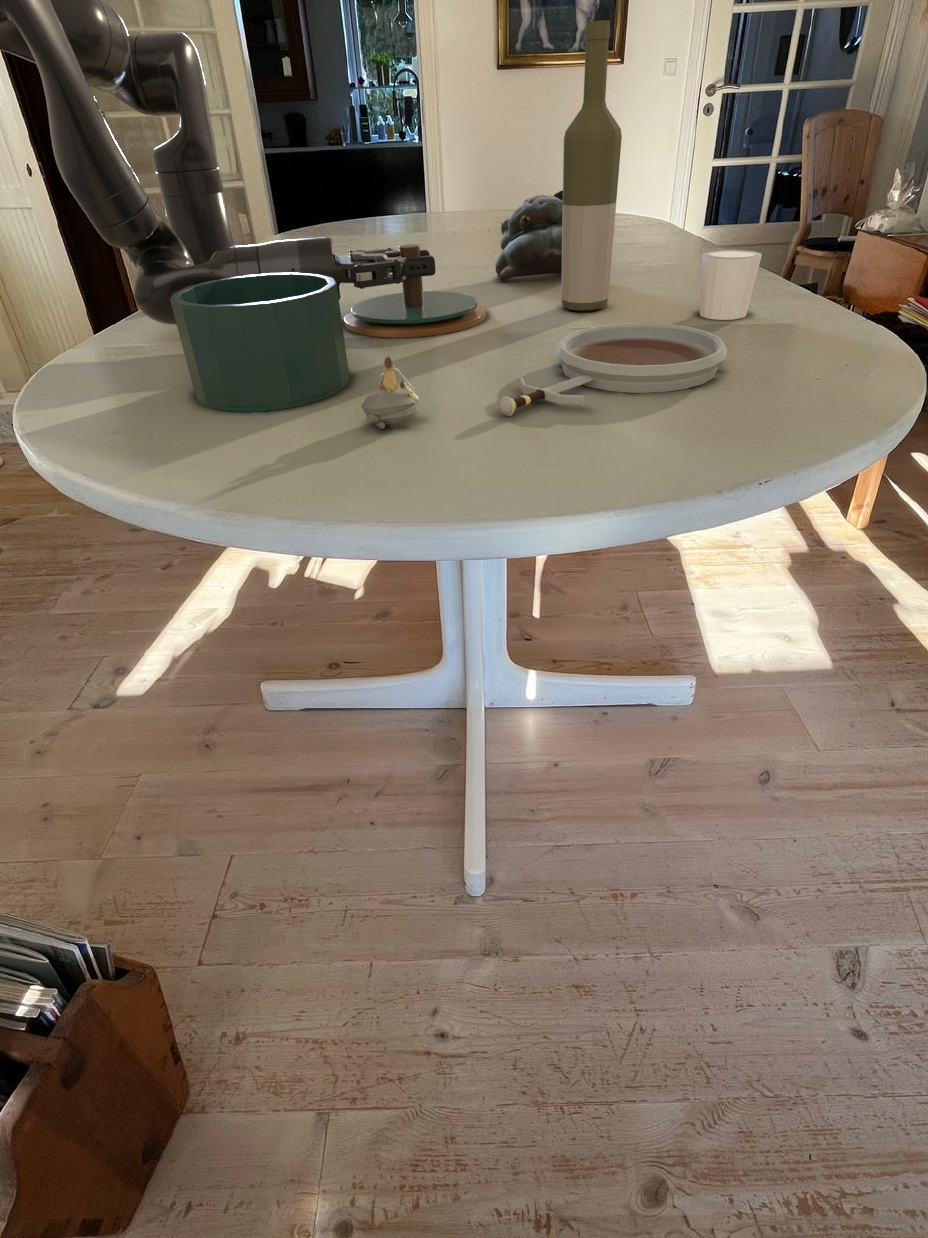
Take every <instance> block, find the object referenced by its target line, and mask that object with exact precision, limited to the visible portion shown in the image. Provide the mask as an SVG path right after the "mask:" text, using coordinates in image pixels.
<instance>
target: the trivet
mask: <svg viewBox="0 0 928 1238" xmlns="http://www.w3.org/2000/svg"><path fill="white" fill-rule="evenodd" d="M486 313H487V312H486V308H485V306H483V305H482V304H481V303H478V302H477V307H476V308H475V309H474V310H473V311H471V312H469V313H467V314H464V315H461V316H458V317H454V318H450V319H447V320H443V321H439V322H433V323H426V324H414V325H391V324H382V323H374V322H368V321H363V320H360V319H357V318H355V317H354V316H353V315H352V313H351V311H350V312H348V313H347V314H346V315H345V316H344V318H343V321H344V327H345V328H346V329H347V330H348V331H350V332H352V333H354V334H357V335H358V334H359V335H361V336H362V335H363V336H369V337H376V338H391V339H392V338H395V339H396V338H400V339H401V338H421V337H431V336H438V335H439V336H440V335H445V334H451V333H455V332H459V331H460V332H461V331H463V330H466V329H470V328H473V327H474V326H477V325H479V324H481V323H483V321H484V320H485V319H486V316H487V314H486Z"/></svg>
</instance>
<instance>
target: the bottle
mask: <svg viewBox="0 0 928 1238" xmlns="http://www.w3.org/2000/svg"><path fill="white" fill-rule="evenodd" d="M584 30H585V33H584V42H585V51H584V52H585V53H584V77H583V99H582V100H583V101H582V105H581V108H580V110H579V111H578V113H577V114H576V115H575V117H574V119H573V120H572V121H571V122H570V124H569V126H568V127H567V129H566V130H565V131H564V136H563V156H562V157H563V158H562V159H563V160H562V161H563V165H562V190H563V219H562V274H561V303H562V307H563V308H565V309H568V310H570V311H572V312H593V311H597V310H599V309H602V308H604V307H606V306H607V305H608V301H609V295H610V294H609V292H610V283H611V282H610V281H611V270H612V259H613V246H614V234H615V223H616V212H617V211H616V210H617V201H618V200H617V199H618V188H619V174H620V164H621V163H620V162H621V152H622V151H621V150H622V138H623V137H622V136H623V135H622V128H621V127H620V125H619V123H618V122H617V121H616V119H615V117H614V116H613V115H612V113H611V112H610V110H609V109H608V107H607V103H606V94H607V93H606V92H607V77H608V75H607V74H608V57H609V42H610V41H609V40H610V37H611V20H591V21H587V22H585V29H584Z"/></svg>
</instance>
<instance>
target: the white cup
mask: <svg viewBox="0 0 928 1238" xmlns="http://www.w3.org/2000/svg"><path fill="white" fill-rule="evenodd" d="M762 256H763V254H762V253H761V252H759V251H754V250H748V249H747V250H746V249H718V250H711V251H706V252H704V253H702V257H701V259H702V260H701V276H700V277H701V279H700V297H699V299H700V300H699V317H702V318H705V319H710V320H716V321H717V320H719V321H720V320H721V321H731V320H739V319H743V318H745V317H747V313H748V309H749V305H750V302H751V298H752V294H753V291H754V286H755V283H756V279H757V275H758V271H759V268H760V263H761V260H762Z"/></svg>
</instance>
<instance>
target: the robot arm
mask: <svg viewBox="0 0 928 1238" xmlns="http://www.w3.org/2000/svg"><path fill="white" fill-rule="evenodd" d="M0 51H2V52H5V53H8V54H11V55H14V56H16V57H19V58H21V59H24V60H26V61H28V62H31V63H34V64H35V65H36V67H37V70H38V72H39V74H40V78H41V82H42V87H43V91H44V96H45V101H46V109H47V116H48V125H49V132H50V139H51V147H52V151H53V155H54V159H55V163H56V166H57V169H58V171H59V173H60V175H61V178H62V180H63V182H64V183H65V185H66V187H67V188H68V190H69V192H70V193H71V195H72V196H73V198H74V199H75V201H76V202H77V203H78V205H79V207H80V208H81V209H82V211H83V212H84V214H85V215H86V217H87V218H88V220H89V221H90V223H91V224H92V226H93V227H94V229H95V230H96V231H97V233H98V234H99V236H100V237H101V238H102V239H103V240H104V241H105V242H106V243H107V244H108V245H109V246H111V247H112V248H115V249H118V250H119V249H120V250H123V251H124V253H126V254H127V256H128V257H129V259H130V260H131V262H132V263H133V265H134V267H135V269H136V270H135V276H134V283H133V297H134V300H135V304H136V305H137V307H138V309H139V310H140V311H141V313H143V314H144V315H145V316H146V317H147V318H148V319H151V320H152V321H154V322H158V323H160V324H165V325H171V326H172V325H173V326H177V324H176V320H175V317H174V313H173V309H172V305H171V302H170V299H171V296H172V294H173V293H175V292H177V291H179V290H181V289H184V288H186V287H188V286H192V285H196V284H200V283H204V282H208V281H213V280H219V279H225V278H231V277H237V276H247V275H258V274H271V273H306V274H319V275H323V276H327V277H331V278H333V279H334V280H335V282H336V284H337V290H338V297H339V301H340V300H341V291H340V290H341V289H340V285H341V284H353V287H354V288H357V289H360V290H361V289H362V290H363V289H366V288H372V287H379V286H387V285H393V284H396V285H398V284H399V285H400V284H401V283H402V282H403V280H405V279H406V277H407V278H408V277H420V276H422V277H431V276H434V275H435V274H436V261H435V257H434V256H433V255H431V254H430V251H429V250H427V249H420V256H419V257H406V258H404V257H401V256H400V251H399V249H395V248H392V247H387V248H379V247H377V248H368V249H361V248H352V249H349V250H348V251H349V254H345V255H336V253H335V247H334V241H333V238H331V237H329V236H322V237H321V236H320V237H306V238H293V239H283V240H281V239H280V240H274V241H269V242H264V243H258V244H247V245H245V244H244V245H236V243H235V242H236V241H235V237H234V234H233V228H232V224H231V219H230V214H229V209H228V205H227V200H226V195H225V191H224V190H225V189H224V185H223V181H222V175H221V171H220V166H219V162H218V155H217V148H216V147H217V146H216V139H215V133H214V128H213V124H212V119H211V118H212V117H211V112H210V111H211V110H210V106H209V99H208V93H207V86H206V80H205V74H204V70H203V66H202V63H201V59H200V56H199V53H198V50H197V48H196V46H195V44H194V42H193V41H192V39H191V38H190V37H189V36H188V35H186V34H185V33H183V32H181V31H180V32H179V31H167V32H155V33H153V32H152V33H139V34H138V33H137V34H129V33H128V30H127V27H126V25H125V22H124V20H123V19H122V18H121V16H120V14H119V12H118V11H117V10H116V9H115V8H114V7H113V5H111V3H110V2H108V1H107V0H0ZM91 87H92V88H94V89H97V90H99V91H102V92H104V93H108V94H110V95H112V96H113V97H115V98H117V99H118V100H120V102H123V103H124V104H126V105H127V106H128V107H130V108H131V109H133V110H135V111H136V112H138V113H140V114H141V115H145V116H150V117H168V116H179V128H178V130H177V132H176V133H175V134H174V135H173V137H172V138H170V139H169V140H168V141H166V142H164V143H162V144H160V145H159V146H156V147H155V148H153V150H152V152H151V159H152V164H153V168H154V172H155V175H156V180H157V183H158V188H159V191H160V195H161V198H162V203H163V206H164V211H165V215H166V217H167V221H166V220H165V219H164V218H163V217H162V216H161V214H159V212H158V211H156V209H155V207H154V205H153V203H152V201H151V200H150V198H149V196H148V194H147V192H146V191H145V189H144V188H143V186H142V184H141V182H140V181H139V179H138V177H137V176H136V174H135V172H134V171H133V168H132V167H131V166H130V164H129V162H128V160H127V159H126V157H125V155H124V153H123V152H122V150H121V148H120V147H119V145H118V143H117V141H116V140H115V138H114V135H113V134H112V132H111V129H110V128H109V125H108V124H107V121H106V120H105V117H104V116H103V114H102V112H101V109H100V107H99V105H98V102H97V100H96V99H95V96H94V94H93V91H92V89H91ZM167 222H168V223H167Z"/></svg>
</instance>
